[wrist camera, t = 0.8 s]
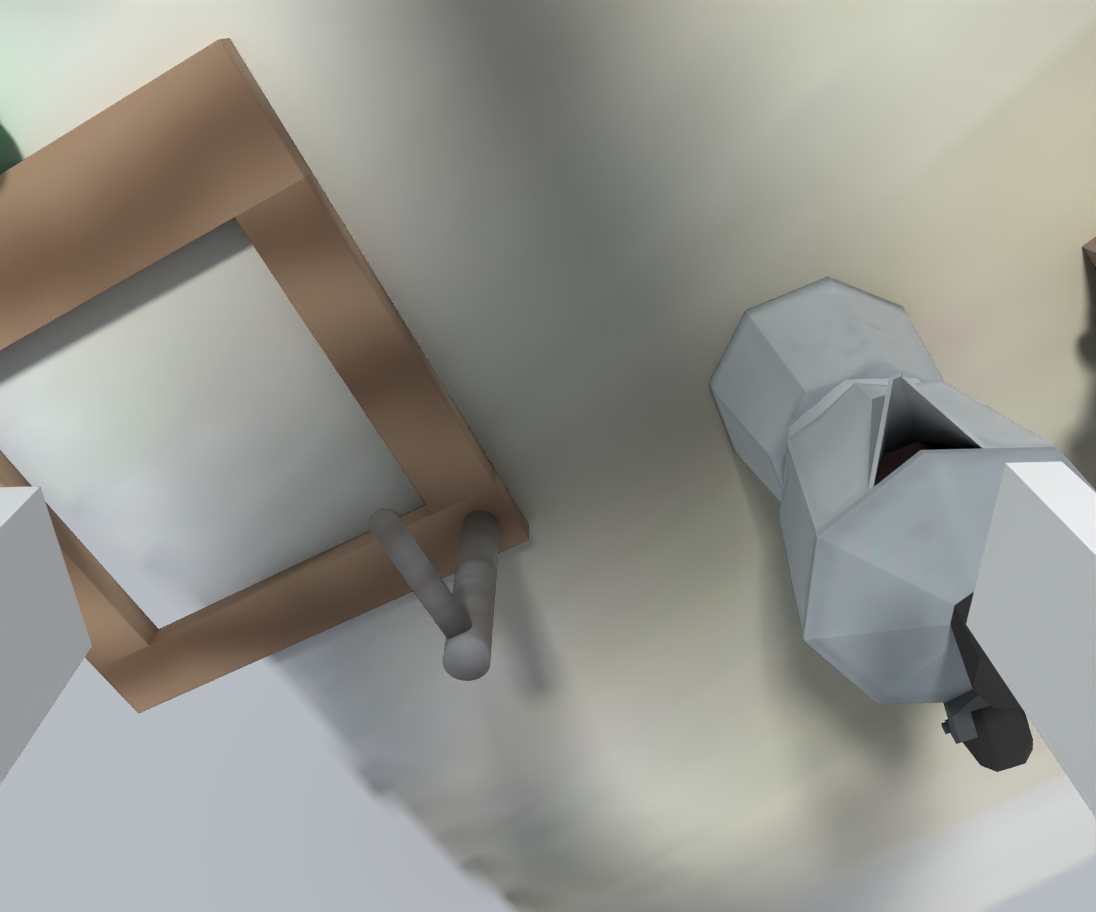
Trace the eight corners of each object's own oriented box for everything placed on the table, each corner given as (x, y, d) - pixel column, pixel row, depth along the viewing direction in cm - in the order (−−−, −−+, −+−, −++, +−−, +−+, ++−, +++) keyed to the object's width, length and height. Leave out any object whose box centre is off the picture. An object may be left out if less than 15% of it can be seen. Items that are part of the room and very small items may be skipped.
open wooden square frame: (-213, 310, 35) (-466, 416, 26) (229, 38, 31) (105, 55, 22) (148, 696, 44) (49, 872, 35) (528, 525, 40) (526, 676, 31)
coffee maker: (659, 286, 35) (762, 529, 19) (881, 192, 34) (1193, 370, 18) (774, 576, 41) (924, 943, 25) (966, 508, 40) (1254, 853, 24)
